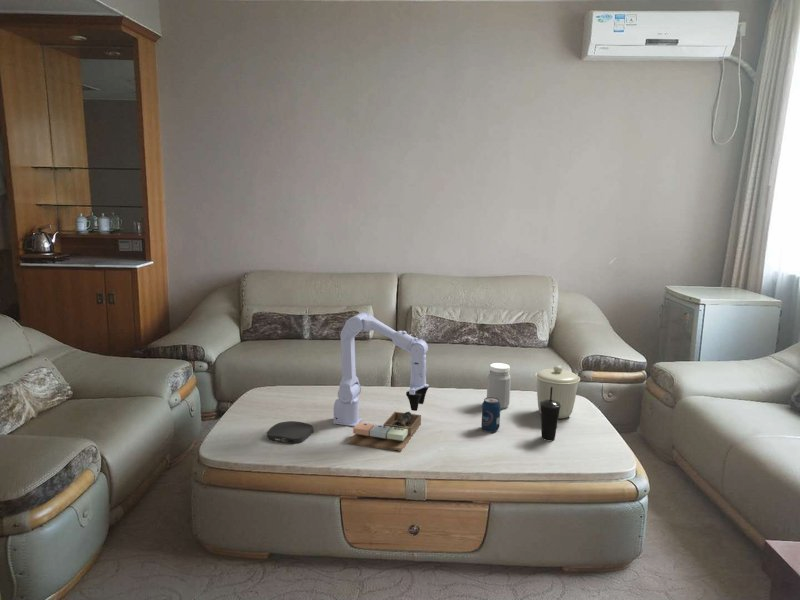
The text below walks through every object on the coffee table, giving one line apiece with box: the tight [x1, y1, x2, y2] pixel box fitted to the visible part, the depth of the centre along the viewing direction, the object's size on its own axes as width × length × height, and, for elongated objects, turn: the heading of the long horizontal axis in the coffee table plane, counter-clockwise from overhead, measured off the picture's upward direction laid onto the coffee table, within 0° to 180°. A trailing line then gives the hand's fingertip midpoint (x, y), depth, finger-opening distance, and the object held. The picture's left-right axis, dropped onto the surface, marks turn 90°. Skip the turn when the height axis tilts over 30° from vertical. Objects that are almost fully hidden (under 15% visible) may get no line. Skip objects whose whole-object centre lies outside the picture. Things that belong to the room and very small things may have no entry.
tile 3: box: [387, 427, 408, 441], centre depth 217 cm, size 6×6×2 cm
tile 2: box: [370, 424, 391, 438], centre depth 219 cm, size 6×6×2 cm
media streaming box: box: [266, 420, 314, 445], centre depth 224 cm, size 15×15×3 cm
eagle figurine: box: [392, 411, 412, 427], centre depth 230 cm, size 8×7×9 cm
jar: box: [486, 362, 512, 410], centre depth 256 cm, size 10×10×18 cm
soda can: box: [480, 397, 501, 433], centre depth 231 cm, size 7×7×12 cm
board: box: [348, 411, 422, 452], centre depth 226 cm, size 20×26×4 cm
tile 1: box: [352, 421, 375, 436], centre depth 221 cm, size 6×6×2 cm
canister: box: [534, 365, 581, 420], centre depth 247 cm, size 18×18×21 cm
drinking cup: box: [540, 387, 561, 441], centre depth 223 cm, size 8×8×20 cm
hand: (417, 407), depth 226 cm, fingers open, 7 cm apart
